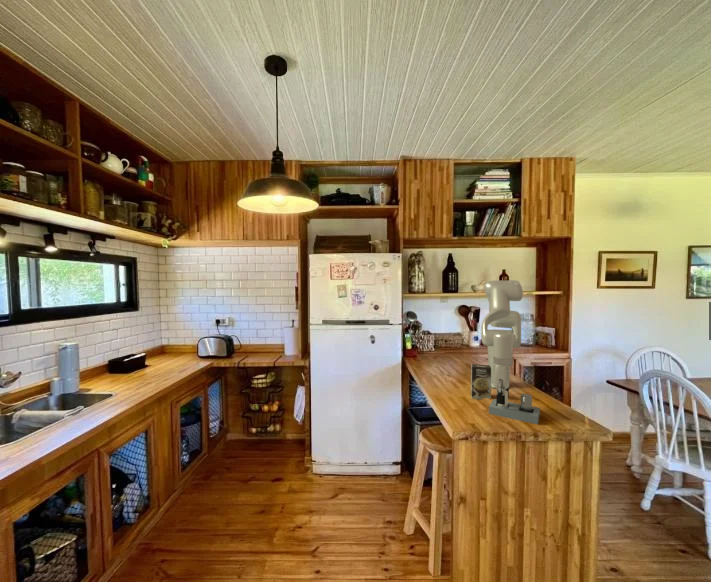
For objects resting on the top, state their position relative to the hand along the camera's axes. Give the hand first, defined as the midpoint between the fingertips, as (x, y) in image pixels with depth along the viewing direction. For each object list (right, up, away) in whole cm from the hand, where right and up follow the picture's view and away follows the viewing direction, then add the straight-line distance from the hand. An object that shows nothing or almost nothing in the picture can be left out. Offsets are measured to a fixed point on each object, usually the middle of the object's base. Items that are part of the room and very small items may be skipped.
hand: (502, 400), depth 131 cm
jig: (+4, -6, -3) cm, 7 cm away
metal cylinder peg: (+7, -5, -5) cm, 10 cm away
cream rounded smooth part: (0, -5, 0) cm, 5 cm away
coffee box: (-1, -6, +20) cm, 21 cm away
